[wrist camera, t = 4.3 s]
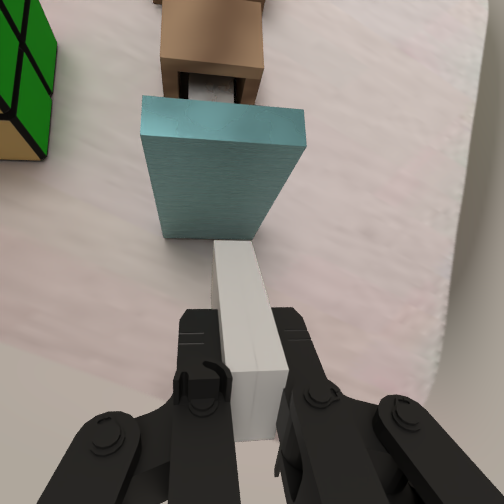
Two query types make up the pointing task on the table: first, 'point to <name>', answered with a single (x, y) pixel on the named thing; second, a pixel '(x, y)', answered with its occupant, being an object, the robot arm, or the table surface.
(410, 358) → the table surface
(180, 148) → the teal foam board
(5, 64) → the puzzle cube
